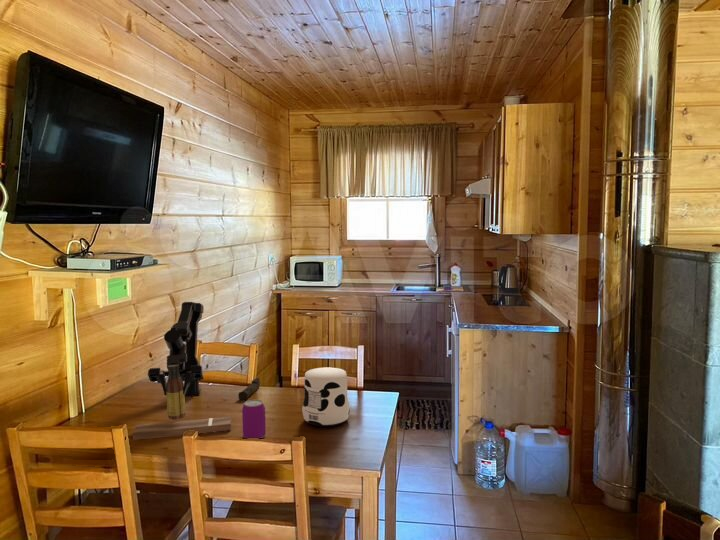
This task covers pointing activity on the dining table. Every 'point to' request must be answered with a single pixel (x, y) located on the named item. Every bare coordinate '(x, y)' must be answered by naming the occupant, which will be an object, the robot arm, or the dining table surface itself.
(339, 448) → the dining table surface
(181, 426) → the walnut board
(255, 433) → the beverage can
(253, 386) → the hand tool
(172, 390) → the sauce bottle
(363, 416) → the dining table surface
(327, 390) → the milk container
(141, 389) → the dining table surface
